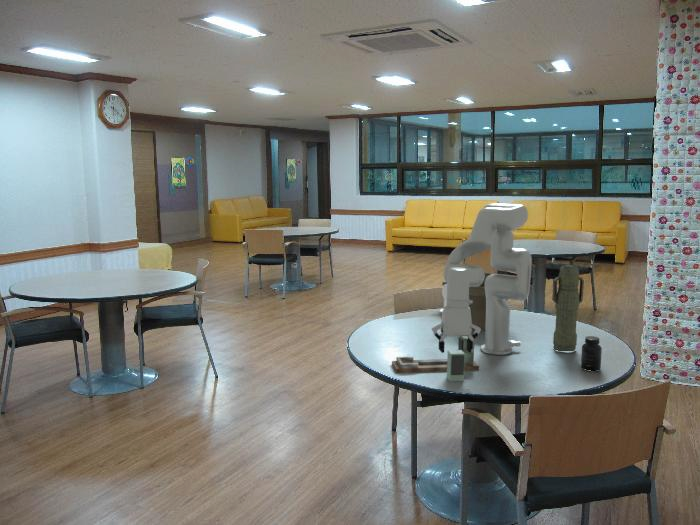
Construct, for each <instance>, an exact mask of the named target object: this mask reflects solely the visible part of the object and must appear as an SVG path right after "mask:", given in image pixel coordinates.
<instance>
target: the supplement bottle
mask: <svg viewBox="0 0 700 525" xmlns="http://www.w3.org/2000/svg"><path fill="white" fill-rule="evenodd" d="M584 340H585V341H584V343H583V344H582V346H581V358H580V368H581V369H582V368H583V369H586V370H591V371H596V370H599V371H601V368H602V352H603V348H602V346H601V345H600V338H599V337H597V336H592V335H588V336H585V339H584ZM583 369H582V370H583ZM586 370H585V371H586ZM591 371H590V372H591ZM596 372H597V371H596Z"/></svg>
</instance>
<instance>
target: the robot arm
mask: <svg viewBox="0 0 700 525" xmlns="http://www.w3.org/2000/svg"><path fill="white" fill-rule="evenodd" d="M528 217H529V212H528V209H527V207H526V206H525V205H524V204H521V203H520V204H519V203H518V204H517V203H500V202H497V203H487V204H485V205H484V206H483V208H481V209H480V210H479V211H478V213H477V216H476V219H475V220H474V223H473V226H472V228H471V231H470V233H469V237H468V238H467V239H466V240H464V241H463V242H462V243H460V244H459V245H458V246H457V247H455V248H454V249H453V250H451V253H450V254H449V256H448V257H447V258H448V259H447V261H446V263H445V266H444V269H443V280H444V282H447V302H446V306H444V305H443V308H442V309H443V313H441V320H440V321H441V322H440V323H439V324H437V325H436V326H433V327H431V332H432V333H433V336H434V337H435V338H436V339H438V350H439V351H440V353H442V354H444V353H445V341H444V340H445V339H446V338H447V337H459V336H467V337H468V339H467V351H468V352H471V349H473V341H474V342H475V339H476V338H477V337H478V336H479V334H480V332H481V331H482V330H481V328H480V327H478V326H476V325H474V324H472V319H471V310H470V307H468V306H469V304H472V303H473V301H472V300H469V287H478V286H480V285H481V284H482V283H483V281H484V279H485V276H486V274H485V270H484V269H483V268H482V267H481V266H478V265H470V264H464V263H463V264H462V263H461V262H463V261H464V260H465V259H467V258H469V257H472V256H475V255H478V254H481V253H484V252H486V251H489V250H490V257H489V262H490V267H491V269H493V270H496V271H500V272H508V273H509V272H510V273H515V274H516V275H510V274H503V273H492V274H489V275H487V276H488V277H487V278H486V280H485V294H486V324H485V330H484V343H483V344H482V345H480V350H481V351H482V352H483V353H486V354H488V355H494V356H495V355H496V356H504V355H507V356H508V355H510V354H512V353H513V348H514V347H521V341H515V340H510V325H511V307H510V304H509V302H508V300H511V301H519V302H521V301H525V300H527V298H528V297H529V295H530V290H531V276H532V255H531V252H530V251H529V250H527V249H525V248H518V247H514V237H515V236H514V233H513V231H516V230H517V229H520V228H522V227H524V225H525V224H526V223H527V221H528ZM506 299H507V301H506ZM473 329H474V332H473ZM439 330H440V332H441V333H438V331H439Z"/></svg>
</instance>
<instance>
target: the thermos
mask: <svg viewBox="0 0 700 525" xmlns="http://www.w3.org/2000/svg"><path fill="white" fill-rule="evenodd" d="M584 286H585V280H584V279H583V277H582V276H580V271H579V268H578V266H576V265H574V264H563V265H561V267H560V269H559V271H558V276H556V277H555V278H554V279H553V284H552V299H551V300H552V301H553V302H554V303H555V309H556V312H555V328H554V332H553V336H552V338H553V339H552V343H553V347H552V348H554V349H555V350H558V351H574V350H575V349H577V348H576V346H577V341H578V334H577V319H578V310H579V309H580V308H579V307H580V305H581V304H580V303H583V298H584ZM554 349H553V350H554ZM555 350H554V351H555Z"/></svg>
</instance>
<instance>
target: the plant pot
mask: <svg viewBox="0 0 700 525" xmlns="http://www.w3.org/2000/svg"><path fill="white" fill-rule="evenodd" d="M488 276H489V275H487V276H486V275H485V279H484V281H483V283H482V284H481V285H480V286H478V287H469V300H472V301H473V303H472V304H469V306H468V307H470V310H471V319H472V324H474V325H476V326H478V327H480V328H481V331H485V324H486V294H485V280H486V278H487V277H488ZM506 301H507V302H508V299H506Z"/></svg>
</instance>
